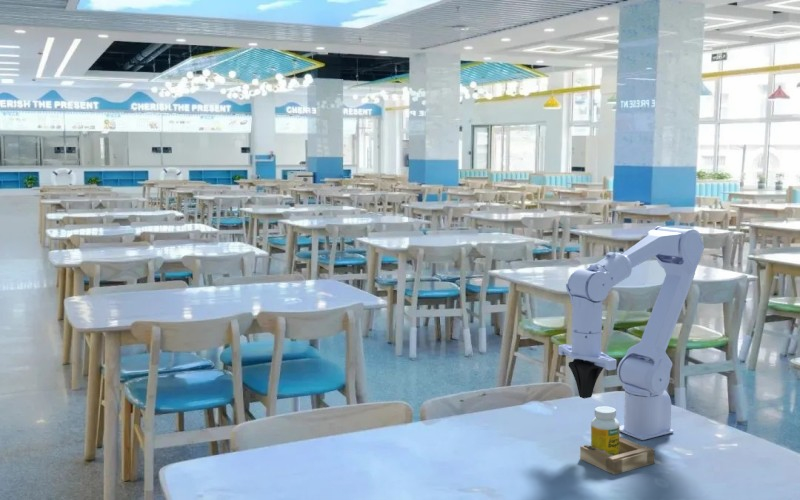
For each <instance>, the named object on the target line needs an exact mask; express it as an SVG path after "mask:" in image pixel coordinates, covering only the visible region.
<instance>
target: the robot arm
mask: <svg viewBox="0 0 800 500" xmlns="http://www.w3.org/2000/svg"><path fill="white" fill-rule="evenodd" d="M703 241H704V240H703V239H702V235H701V234H700V232H699V231H698V230H696V229H695V228H689V229H687V228H686V229H685V228H679V227H678V228H677V227H669V226H664V225H658V226H655V227H654V228H653V229H651V230H648V231H647V233H646V236H645V237H643V239H641V240H640V241H638V242H637V243H635V244H634V245H633V246H631V247H630V248H628V249H627V250H625V251H624V252H623V253H622V252H621V253H620V252H616V251H615V252H612V251H609V252H607V253H606V254H605V257H604V258H602V259H601V260H598V261H597V262H595V263H591V264H589V266H588V267H587V268H586V269H583V268H579V269H577V270H575V271H574V272H572V274H571V275H570V276H569V278H568V280H567V281H568V282H566V284H565V288H566V292H567V293H568V295H569V297H570V304H571V306H572V308H571V309H572V314H571V315H572V318H571V322H572V323H571V344H567V343H563V344H560V345H559V344H558V349H557V351H558V352H557V353H558V355H560V356H565V357H568V358H571V359H573V360H572V361H569V362H568V367H569V369H570V371H571V373H572V375H573V377H574V381H575V384H576V387H577V391H578V392H577V393H578V395H579V397H580V398H581V399H589V398H592V396H593V393H594V390H595V386H596V383H597V381H598V379H599V376H600V374H601V373H602V371H603V370H604V369H605V370H607V371H614V370H616V375H617V379H618V381H619V382H620V383H621V384H622V389H623V390H624V407H623V408H624V410H623V412H624V414H623V424H622V425H619V433H620V432H621V433H623V434H626V435H628V436H630V437H633V438H635V439H638V440H642V441H645V440H649V439H653V438H656V437H660V436H664V435H668V434H672V433H674V432H675V431H674V429H672V428H671V427H672V426H671V425H672V423H671V420H672V400H671V397H670V394H669V393H668V392H667V388H668V386H669V384H670V378H671V372H672V368H673V362H672V360H671V359H670V357H669V355H668V354H667V352H666V350H667V349H668V346H669V344H670V340H671V339H672V338H671V337H672V335H673V333H674V330H675V327H676V325H677V323H678V321H679V318H680V314H681V311H682V309H683V307H684V304H685V301H686V299H687V296H688V294H689V291H690V289H691V286H692V283H693V281H694V278H695V275H696V271H697V268H698V266H699V262H700V260H701V258H702V256H703V253H704V249H705V245H704V242H703ZM652 258H655V260H656V261H657V263H658V264H659V267H661V268H662V269H663V270H664V273H665V276H664V279H663V282H662V285H661V287H660V290H659V293H658V295H657V297H656V299H655V303H654V305H653V307H652V311H651V313H650V315H649V318H648V321H647V323H646V326H645V329H644V331H643V333H642V335H641V339H640V341H639V342H637V343H636V344H633V345H632V346H630V347H629V348H627V351H626V353H625V355H624V357H622V359H621V360H620V361H619V363H618V366H617V359H615V358H614V357H611V356H610V355H608V354H606V353H605V352H603V351H602V338H603V337H602V336H603V335H602V333H603V331H602V329H603V328H602V327H603V323H602V322H603V301H604V300H606V299H607V297H608V295H609V293H610V290H612V289H613V287H615V286H617V285H618V284H620V283H621V282H623V281H624V280H626V279H627V278H629V277H630V276H631V274H632V271H633V269H632V268H635V267H637V266H639V265H641V264H643V263H645V262H647V261H648V260H650V259H652Z"/></svg>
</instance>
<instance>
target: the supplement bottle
mask: <svg viewBox="0 0 800 500" xmlns="http://www.w3.org/2000/svg"><path fill="white" fill-rule="evenodd" d="M616 417H617V410H616V408H614V407H612V406H607V405H602V406H597V407H595V408H594V418H593V419H591V424H590V436H591V437H590V440H591V441H590V446H593V447H595V448H597V449H599V450H602V451H604V452H606V453H609V454H611V455H613V456H615V455H619V454H620V453H619V437H620V431H619V426H620V421H619V420H618V419H617V418H616Z"/></svg>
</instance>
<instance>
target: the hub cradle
mask: <svg viewBox="0 0 800 500" xmlns="http://www.w3.org/2000/svg"><path fill="white" fill-rule="evenodd" d="M579 450H580V453H579V455H580V456H579V457H580V458H579V459H580V460H582V461H584V462H586V463H588V464H590V465H592V466H595V467H596V468H598V469H600V470H603V471H606V472H607V473H609V474H612V475H618V474H622V473H625V472H628V471H632V470H635V469H638V468H642V467H646V466H650V465H653V464H655V458H656V457H655V453H656V452H655V451H656V450H655V449H654V448H653V447H651V446H644V445H642V444H640V443H637V442H634V441H633V440H629V439H628V438H626V437H623V436H619V455H615V456H613V455H611V454H609V453H606V452H604V451H602V450H599V449H597V448H595V447H593V446H591V444H584V445H581V446H580V448H579Z"/></svg>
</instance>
